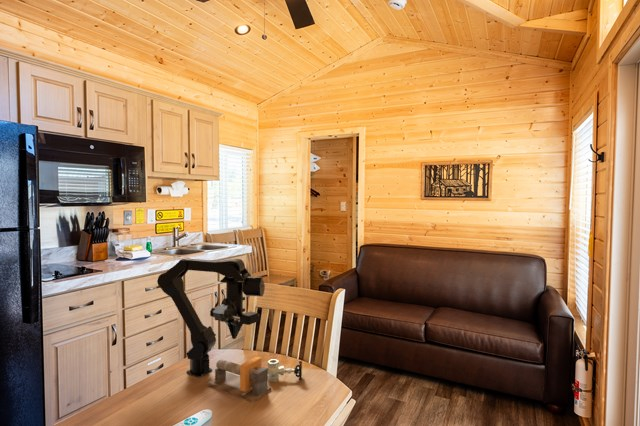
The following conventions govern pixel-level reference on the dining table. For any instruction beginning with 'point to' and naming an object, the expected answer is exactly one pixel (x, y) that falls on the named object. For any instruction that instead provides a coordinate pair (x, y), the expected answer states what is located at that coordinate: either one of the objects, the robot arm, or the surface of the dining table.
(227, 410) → the dining table surface
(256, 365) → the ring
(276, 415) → the dining table surface
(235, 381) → the pipe stand
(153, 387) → the dining table surface
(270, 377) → the valve
